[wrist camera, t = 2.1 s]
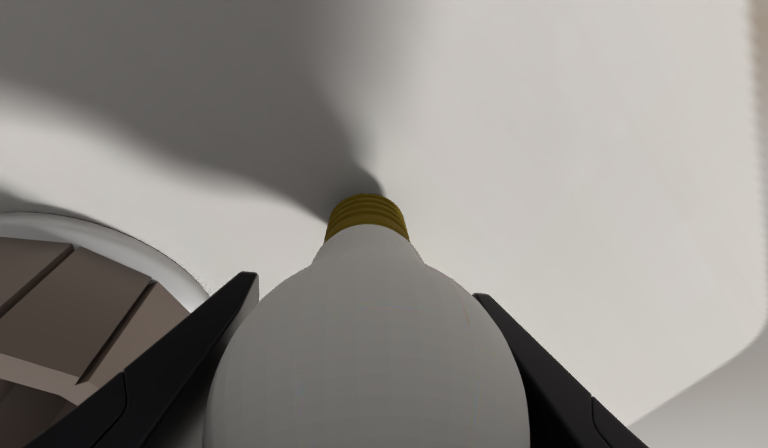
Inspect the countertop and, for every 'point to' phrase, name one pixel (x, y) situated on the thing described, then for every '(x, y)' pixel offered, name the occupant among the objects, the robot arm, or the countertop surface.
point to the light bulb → (367, 353)
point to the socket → (76, 314)
